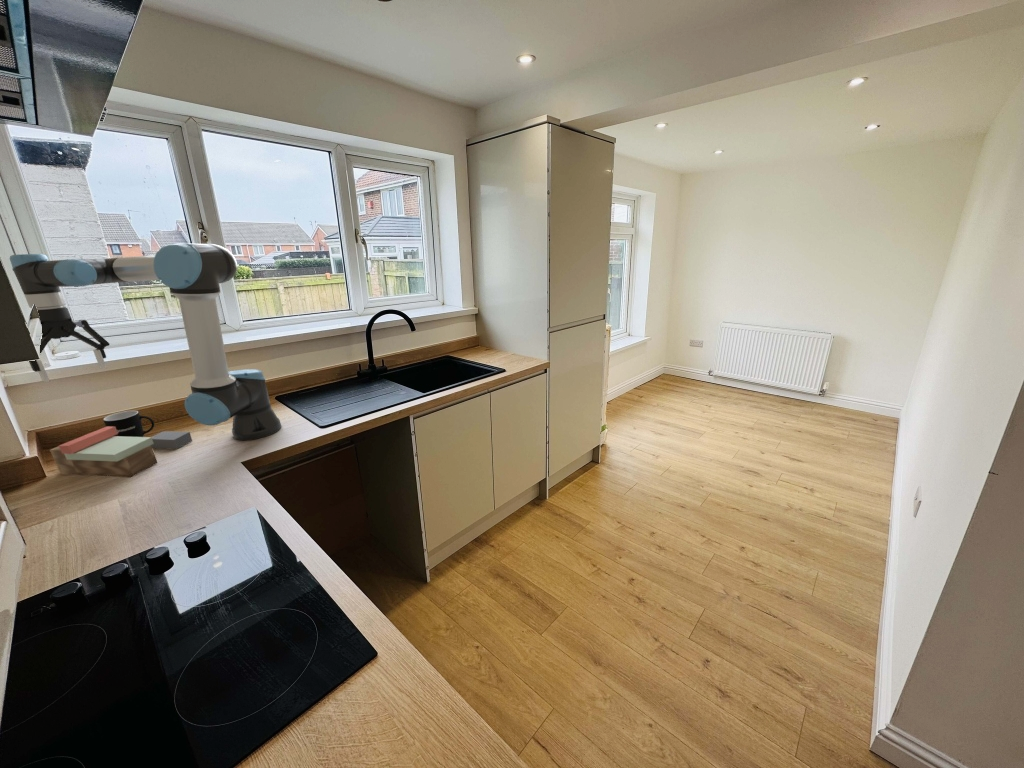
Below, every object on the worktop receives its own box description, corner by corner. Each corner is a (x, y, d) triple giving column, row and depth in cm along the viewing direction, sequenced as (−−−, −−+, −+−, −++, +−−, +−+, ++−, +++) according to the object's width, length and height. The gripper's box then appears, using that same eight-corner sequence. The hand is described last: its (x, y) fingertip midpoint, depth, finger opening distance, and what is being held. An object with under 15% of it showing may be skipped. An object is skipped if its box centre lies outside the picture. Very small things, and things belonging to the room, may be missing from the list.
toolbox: (157, 462, 126) (149, 439, 123) (130, 477, 118) (121, 452, 116) (91, 460, 129) (81, 437, 126) (60, 474, 121) (49, 449, 118)
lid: (153, 443, 125) (151, 437, 125) (117, 461, 115) (114, 454, 114) (106, 442, 127) (104, 435, 127) (66, 459, 117) (63, 452, 116)
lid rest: (192, 441, 140) (189, 431, 139) (177, 449, 135) (173, 439, 133) (166, 440, 141) (163, 431, 140) (150, 448, 136) (147, 438, 135)
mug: (111, 450, 135) (100, 423, 132) (115, 441, 142) (105, 414, 139) (157, 440, 142) (148, 413, 138) (159, 431, 149) (150, 406, 145)
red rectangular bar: (118, 433, 127) (115, 426, 126) (71, 453, 115) (67, 446, 114) (109, 433, 127) (107, 426, 127) (61, 453, 115) (58, 445, 114)
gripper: (96, 301, 133) (119, 363, 140) (-20, 313, 112) (13, 385, 119) (107, 302, 130) (130, 365, 137) (-10, 314, 109) (24, 388, 116)
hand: (76, 374), depth 128 cm, fingers open, 13 cm apart
